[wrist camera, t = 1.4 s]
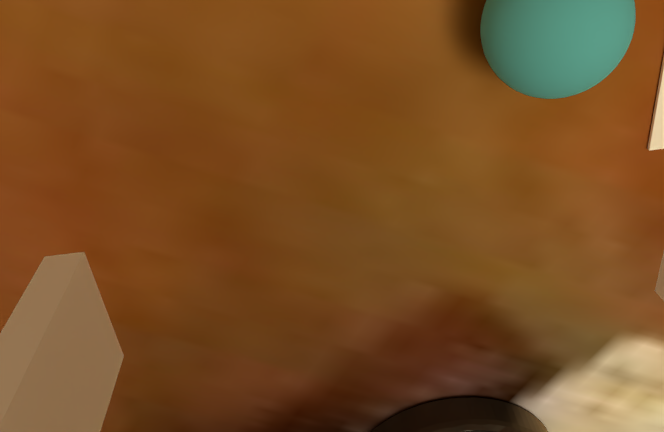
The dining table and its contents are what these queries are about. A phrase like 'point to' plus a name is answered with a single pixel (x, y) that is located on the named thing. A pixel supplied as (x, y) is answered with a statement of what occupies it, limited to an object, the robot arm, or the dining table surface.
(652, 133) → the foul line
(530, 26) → the ball
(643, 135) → the dining table surface
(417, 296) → the dining table surface
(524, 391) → the dining table surface
